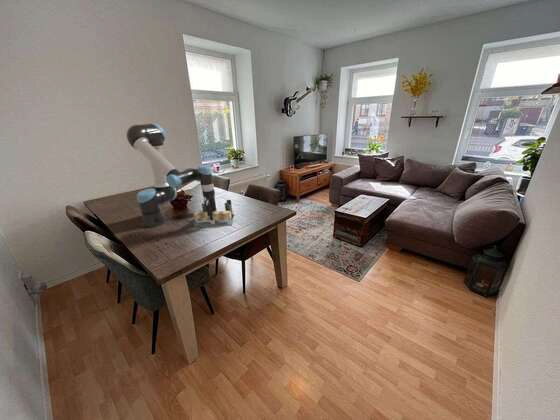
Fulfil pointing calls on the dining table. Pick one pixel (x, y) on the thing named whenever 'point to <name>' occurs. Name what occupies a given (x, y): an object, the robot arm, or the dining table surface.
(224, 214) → the rail
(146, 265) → the dining table surface
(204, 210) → the standard left
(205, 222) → the mat
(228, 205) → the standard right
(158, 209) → the robot arm
